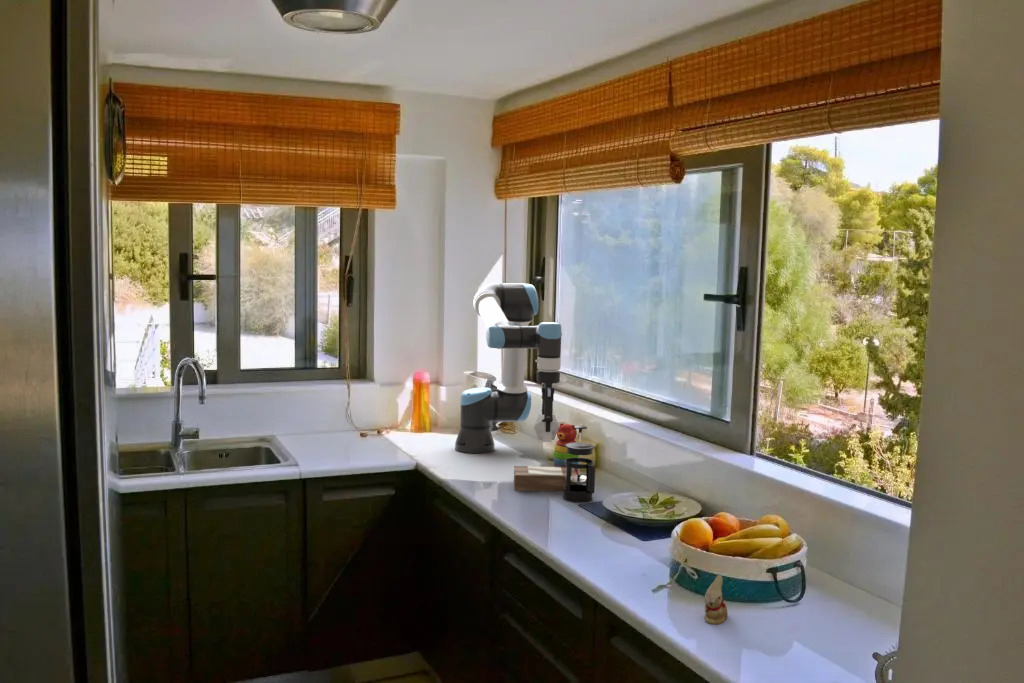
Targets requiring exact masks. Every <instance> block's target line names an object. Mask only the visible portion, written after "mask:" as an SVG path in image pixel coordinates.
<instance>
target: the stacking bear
mask: <svg viewBox="0 0 1024 683" xmlns="http://www.w3.org/2000/svg"><path fill="white" fill-rule="evenodd" d="M559 426H560V427H559V429H558V432H557V434H556V436H557V438H558V440H557V441H556V443H555V445H554V448H553V453H552V456H553V457H552V460H553V467H567V466H565V459H568V458H579V455H572V454H569V453H567V447H566V446H565V445H566V444H568V443H578V442H577V441H576V438H577V434H578V433H577V429H576V428H574V427H575V426H576V425H574V424H568V423H567V424H564V423H559ZM572 464H579V462H572ZM574 469H575V472H576V475H578V468H574Z"/></svg>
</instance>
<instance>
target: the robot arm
mask: <svg viewBox="0 0 1024 683" xmlns="http://www.w3.org/2000/svg"><path fill="white" fill-rule="evenodd" d="M538 296H539V295H538V292H537V290H536V288H535V286H534V285H533V284H530V283H524V282H523V283H522V282H521V283H520V282H518V283H517V282H516V283H515V282H511V283H508V282H506V283H505V282H502V283H501V282H493V283H489V284H486V285H484V286H482V287H481V288H480V289H479V290H478V291H477V292H476V294H475V295H474V297H473V298H474V299H473V304H472V305H473V309H474V310H475V313H476V314H477V315H478V316H479V317H481V318H482V320H483V322H484V324H485V326H486V328H487V329H486V335H485V336H486V337H485V338H486V345H487V346H488V348H489V349H497V350H501V349H503V353H502V354H503V356H502V369H501V382H500V383H499V384H498V385H497V386H496V387H497V388H496V391H493V390H492V388H491V387H481V386H480V387H474V388H469V389H466V390H464V391H462V393H461V395H460V396H461V397H460V403H459V404H460V417H459V418H460V419H459V420H460V421H459V422H460V423H459V431H458V435H457V437H456V440H455V444H454V448H455V450H456V451H458V452H461V453H467V454H468V453H469V454H484V453H491V452H494V451H495V444H496V443H495V441H494V437H493V433H492V431H491V423H508V422H509V423H512V422H513V423H517V422H524V421H526V420H527V419H528V417H529V415H530V413H531V409H532V394H531V393H530V391H528V387H527V386H526V384H525V372H526V370H525V369H526V358H527V357H526V356H527V350H529V349H530V350H531V349H536V350H537V359H535V363H537V365H536V366H537V367H536V368H537V369H538V370H537V371H536V381H537V383H539V384H542V387H541V399H542V402H541V404H542V405H541V415H544V419H542V422H544V424H543V440H542V442H544V443H552V441H553V440H552V421H553V415H554V414H553V410H554V409H553V408H554V406H553V405H554V404H553V403H554V397H555V396H554V395H555V387H553V384H559V383H560V381H561V372H560V370H561V363H562V362H561V361H562V359H561V356H562V355H561V354H562V352H561V351H562V336H563V332H562V324H561V323H560V322H553V321H552V322H550V321H548V322H547V321H545V322H544V321H543V322H540V323H539V324H537V325H529V324H530V323H532V322H533V319H534V318H533V316H536V315H538V313H539V297H538Z"/></svg>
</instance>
